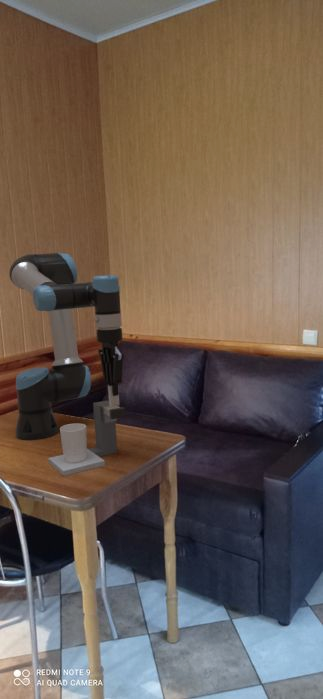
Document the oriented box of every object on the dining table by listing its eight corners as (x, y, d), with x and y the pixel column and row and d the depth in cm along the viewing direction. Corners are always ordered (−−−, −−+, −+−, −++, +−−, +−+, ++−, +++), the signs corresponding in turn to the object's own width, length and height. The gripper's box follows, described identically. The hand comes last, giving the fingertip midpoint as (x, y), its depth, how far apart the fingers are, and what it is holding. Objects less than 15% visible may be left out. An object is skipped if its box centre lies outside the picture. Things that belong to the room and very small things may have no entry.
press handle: (101, 421, 165) (100, 405, 165) (114, 419, 168) (113, 402, 167) (113, 428, 159) (111, 410, 158) (126, 425, 161) (125, 408, 160)
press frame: (48, 462, 164) (44, 412, 161) (110, 447, 174) (107, 400, 172) (63, 476, 153) (59, 422, 150) (128, 459, 163) (125, 408, 160)
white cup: (80, 452, 167) (78, 421, 165) (93, 458, 161) (91, 427, 159) (57, 459, 162) (55, 427, 161) (70, 465, 156) (67, 433, 154)
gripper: (88, 327, 161) (94, 403, 165) (106, 331, 150) (112, 412, 154) (111, 325, 165) (116, 399, 169) (130, 328, 154) (135, 407, 157)
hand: (114, 405), depth 161 cm, fingers closed
